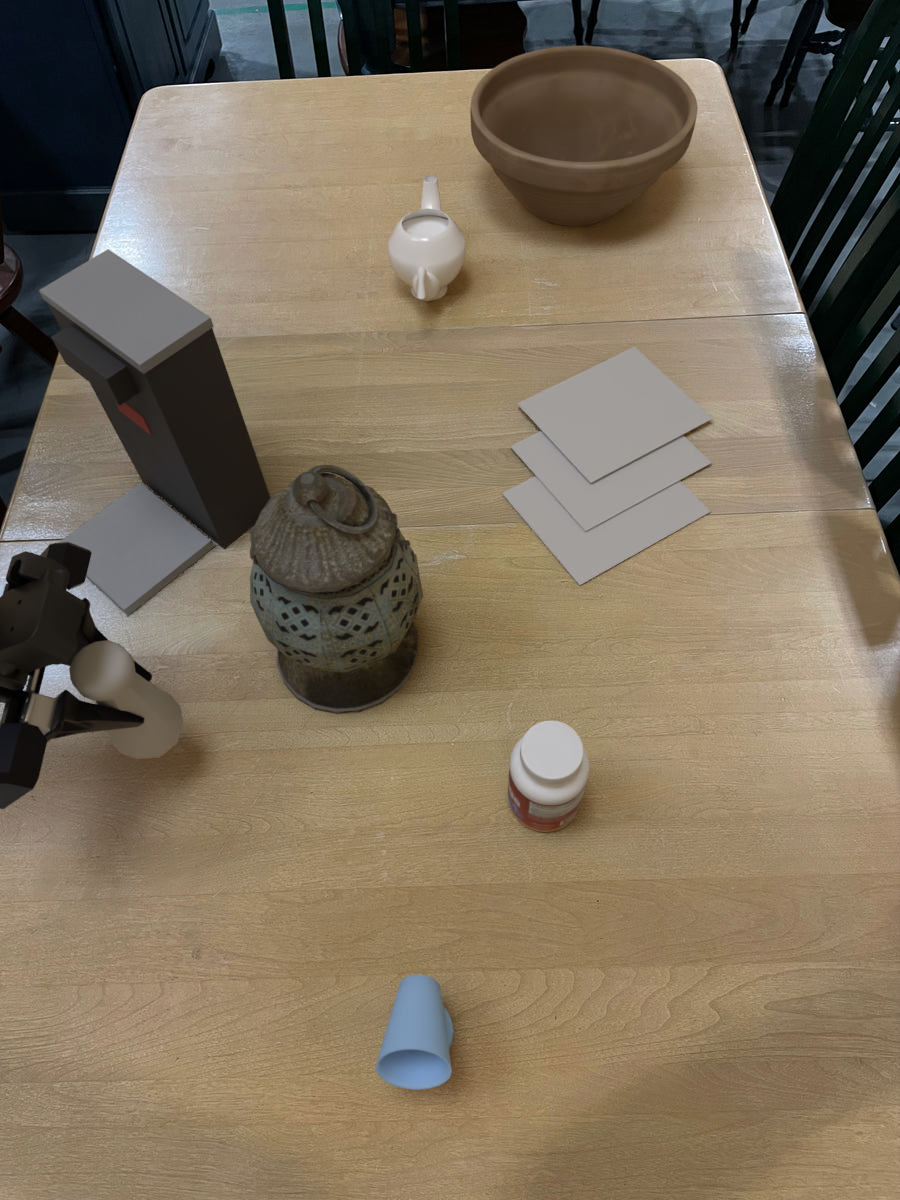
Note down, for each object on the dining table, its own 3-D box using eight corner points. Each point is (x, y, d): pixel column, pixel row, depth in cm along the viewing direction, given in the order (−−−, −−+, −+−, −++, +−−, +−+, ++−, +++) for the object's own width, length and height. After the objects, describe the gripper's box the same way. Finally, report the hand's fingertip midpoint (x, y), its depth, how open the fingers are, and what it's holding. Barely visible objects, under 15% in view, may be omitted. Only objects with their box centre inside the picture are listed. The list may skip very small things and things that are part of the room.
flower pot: (679, 143, 123) (697, 45, 112) (677, 268, 109) (699, 169, 97) (485, 135, 127) (485, 39, 115) (458, 255, 112) (455, 158, 101)
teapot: (385, 342, 103) (376, 276, 95) (399, 240, 114) (392, 174, 106) (463, 342, 103) (461, 277, 95) (470, 240, 113) (469, 173, 105)
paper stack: (771, 477, 90) (773, 473, 89) (579, 585, 83) (580, 581, 83) (633, 351, 101) (634, 346, 100) (454, 438, 94) (454, 433, 94)
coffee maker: (134, 622, 83) (14, 448, 62) (53, 546, 89) (-84, 362, 67) (276, 508, 90) (210, 317, 69) (192, 444, 96) (107, 248, 74)
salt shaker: (192, 700, 72) (141, 622, 61) (189, 764, 69) (134, 694, 58) (123, 707, 72) (59, 630, 61) (116, 772, 69) (48, 703, 58)
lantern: (319, 569, 86) (264, 384, 65) (449, 612, 82) (436, 433, 61) (251, 685, 79) (164, 522, 58) (389, 738, 76) (351, 585, 55)
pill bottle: (509, 760, 74) (512, 707, 65) (580, 766, 74) (594, 712, 64) (505, 831, 71) (507, 785, 61) (579, 837, 70) (593, 791, 61)
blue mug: (455, 1093, 61) (457, 988, 65) (450, 1087, 52) (452, 967, 56) (386, 1091, 61) (392, 987, 65) (370, 1085, 53) (378, 965, 56)
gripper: (-82, 728, 46) (182, 790, 55) (3, 464, 56) (215, 555, 65) (-139, 784, 52) (105, 831, 62) (-53, 540, 62) (146, 612, 72)
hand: (145, 700), depth 65 cm, fingers closed on salt shaker, 3 cm apart
